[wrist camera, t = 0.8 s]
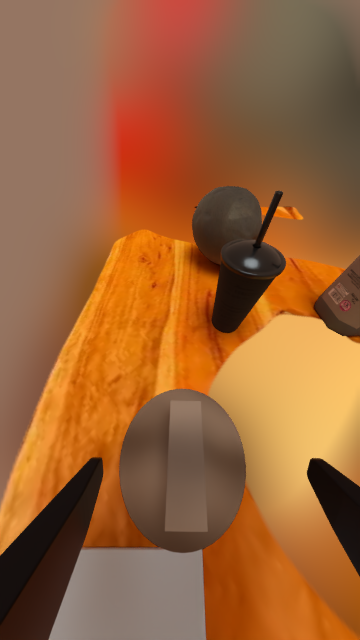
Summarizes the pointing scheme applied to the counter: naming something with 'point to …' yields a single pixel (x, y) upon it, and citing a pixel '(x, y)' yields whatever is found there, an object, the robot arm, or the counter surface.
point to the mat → (133, 596)
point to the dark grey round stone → (225, 219)
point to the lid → (182, 470)
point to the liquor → (342, 302)
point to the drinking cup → (245, 275)
